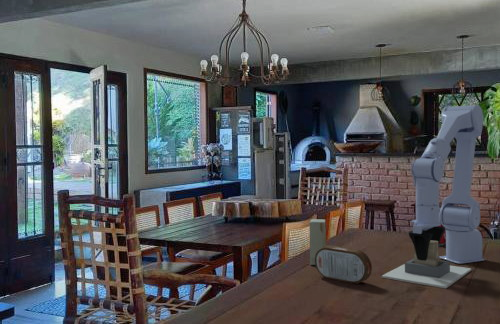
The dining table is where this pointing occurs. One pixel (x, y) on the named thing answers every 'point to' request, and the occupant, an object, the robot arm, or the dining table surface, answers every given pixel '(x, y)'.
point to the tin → (343, 264)
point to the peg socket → (428, 274)
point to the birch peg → (429, 255)
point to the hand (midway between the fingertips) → (427, 257)
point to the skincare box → (317, 237)
